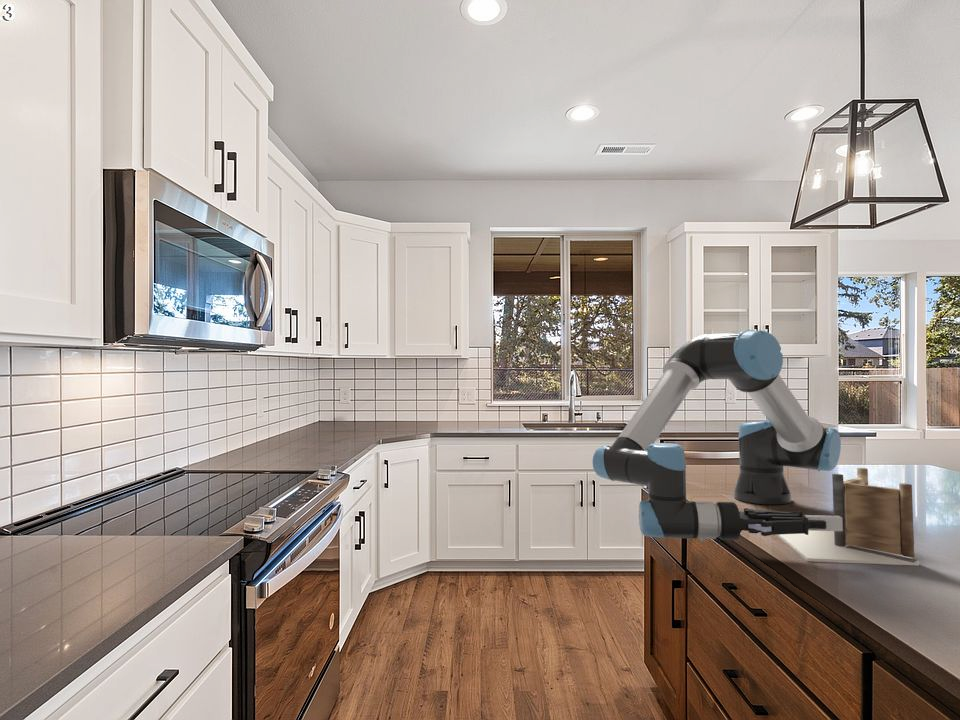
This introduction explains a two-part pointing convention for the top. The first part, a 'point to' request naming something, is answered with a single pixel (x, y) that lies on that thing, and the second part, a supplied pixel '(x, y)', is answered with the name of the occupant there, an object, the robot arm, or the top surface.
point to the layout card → (839, 550)
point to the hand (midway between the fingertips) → (840, 523)
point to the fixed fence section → (844, 501)
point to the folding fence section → (880, 518)
